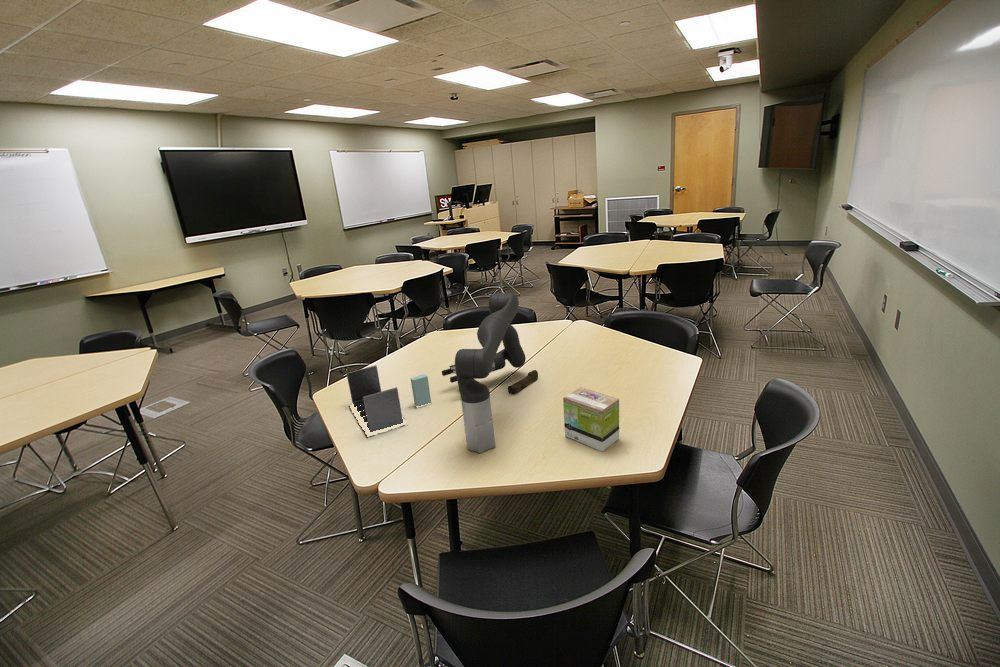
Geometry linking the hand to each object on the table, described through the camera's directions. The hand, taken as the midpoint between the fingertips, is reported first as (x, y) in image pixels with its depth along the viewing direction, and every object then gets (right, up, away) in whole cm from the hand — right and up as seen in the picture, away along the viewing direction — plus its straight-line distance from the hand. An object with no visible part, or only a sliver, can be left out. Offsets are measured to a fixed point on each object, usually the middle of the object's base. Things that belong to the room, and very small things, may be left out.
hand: (446, 376), depth 186 cm
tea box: (+52, -17, -37) cm, 66 cm away
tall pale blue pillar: (-9, -11, -3) cm, 14 cm away
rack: (-26, -14, -8) cm, 31 cm away
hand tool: (+32, -5, +7) cm, 33 cm away
